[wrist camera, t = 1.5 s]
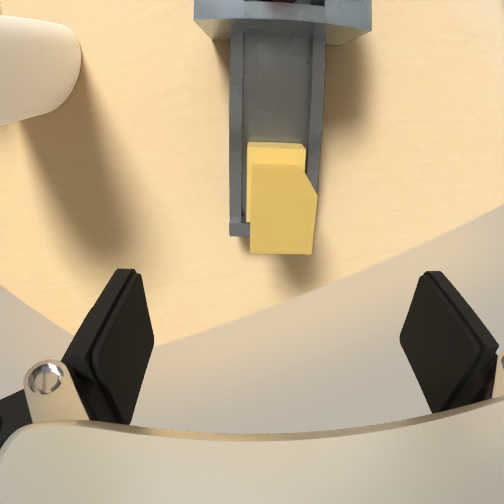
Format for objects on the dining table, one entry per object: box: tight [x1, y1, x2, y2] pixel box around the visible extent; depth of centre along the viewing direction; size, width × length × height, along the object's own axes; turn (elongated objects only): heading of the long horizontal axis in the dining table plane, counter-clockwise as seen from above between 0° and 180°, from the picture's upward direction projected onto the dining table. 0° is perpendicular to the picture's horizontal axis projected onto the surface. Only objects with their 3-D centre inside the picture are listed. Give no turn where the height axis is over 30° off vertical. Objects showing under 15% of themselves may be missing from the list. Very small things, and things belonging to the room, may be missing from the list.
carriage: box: [246, 142, 318, 254], centre depth 18 cm, size 4×5×8 cm
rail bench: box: [194, 0, 372, 238], centre depth 18 cm, size 9×20×7 cm, turn 179°
